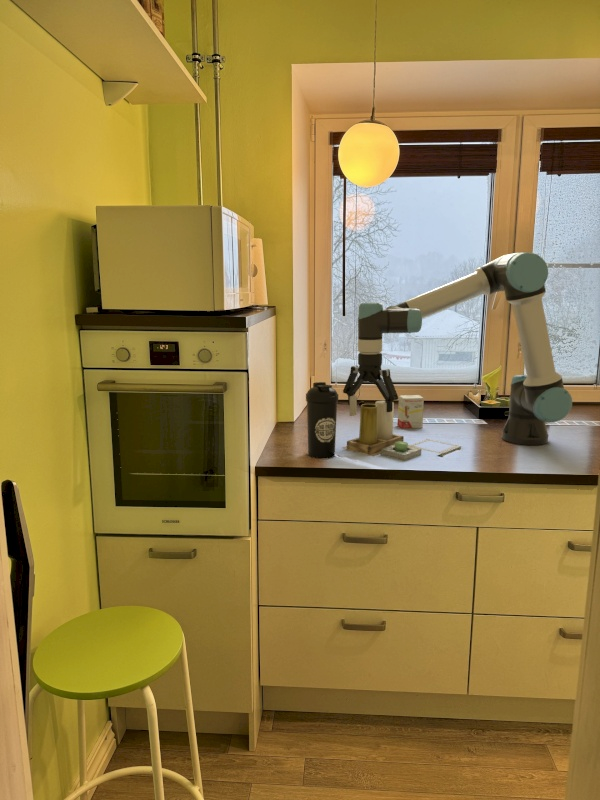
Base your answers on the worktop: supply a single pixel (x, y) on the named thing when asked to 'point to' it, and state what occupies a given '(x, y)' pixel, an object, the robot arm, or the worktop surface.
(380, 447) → the wooden divided tray
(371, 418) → the vase
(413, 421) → the ink box
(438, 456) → the rim
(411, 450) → the square block with hole
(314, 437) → the water bottle
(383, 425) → the cream rounded cylinder
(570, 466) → the worktop surface
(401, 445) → the button
